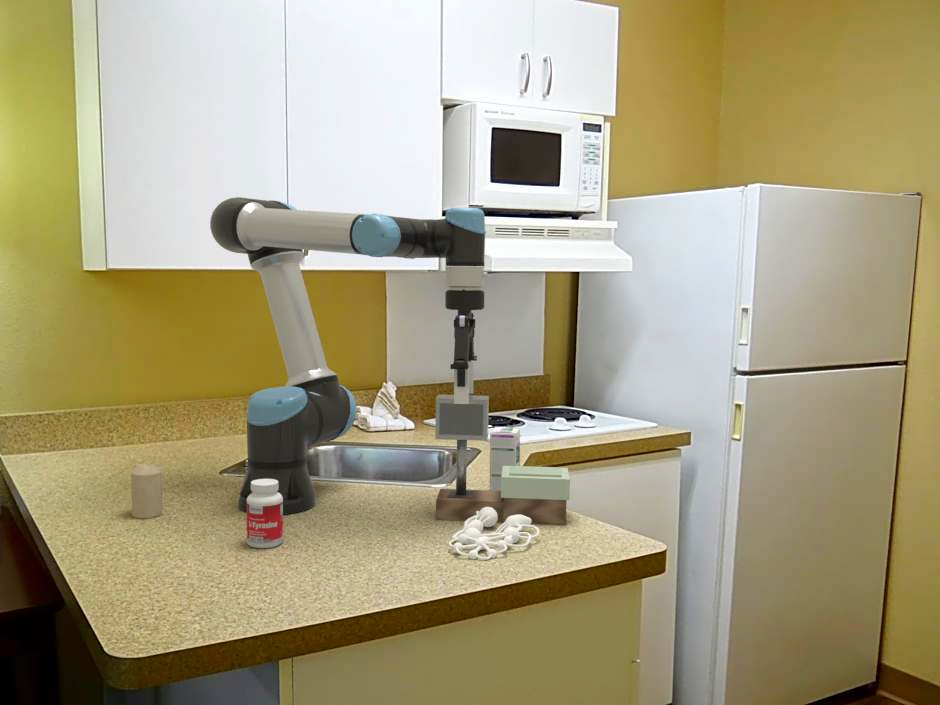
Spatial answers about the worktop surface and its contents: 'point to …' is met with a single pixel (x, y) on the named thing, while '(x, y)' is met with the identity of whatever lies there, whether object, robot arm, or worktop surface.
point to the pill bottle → (264, 514)
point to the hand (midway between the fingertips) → (464, 398)
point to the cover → (535, 482)
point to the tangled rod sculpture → (480, 541)
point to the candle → (146, 491)
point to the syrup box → (503, 453)
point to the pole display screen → (462, 428)
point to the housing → (498, 506)
